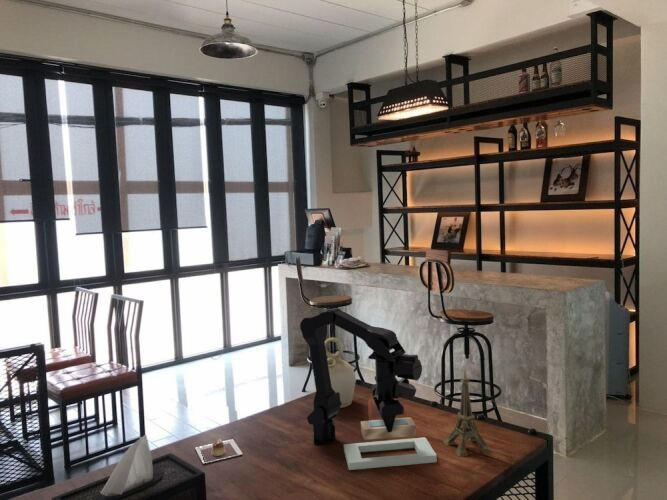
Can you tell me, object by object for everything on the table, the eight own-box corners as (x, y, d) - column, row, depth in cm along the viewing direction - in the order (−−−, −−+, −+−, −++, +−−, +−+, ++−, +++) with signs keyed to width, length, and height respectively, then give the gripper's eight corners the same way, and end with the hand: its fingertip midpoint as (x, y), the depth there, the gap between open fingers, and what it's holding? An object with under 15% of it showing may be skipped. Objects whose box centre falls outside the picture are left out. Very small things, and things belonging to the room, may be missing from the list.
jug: (342, 413, 191) (339, 344, 189) (307, 406, 200) (303, 340, 198) (364, 399, 204) (361, 334, 202) (329, 393, 212) (326, 330, 210)
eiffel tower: (442, 442, 165) (440, 362, 163) (473, 436, 168) (471, 358, 166) (459, 457, 155) (456, 372, 153) (492, 451, 157) (490, 367, 155)
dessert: (203, 467, 157) (202, 451, 156) (194, 450, 168) (194, 436, 167) (243, 457, 162) (242, 442, 162) (232, 442, 173) (232, 427, 172)
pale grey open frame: (348, 470, 150) (348, 463, 150) (344, 450, 162) (343, 444, 162) (436, 462, 152) (436, 455, 152) (425, 443, 164) (425, 437, 164)
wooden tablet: (399, 427, 178) (399, 422, 178) (369, 428, 179) (369, 423, 179) (393, 398, 205) (393, 394, 205) (367, 399, 205) (367, 395, 205)
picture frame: (364, 439, 153) (363, 428, 153) (361, 431, 159) (360, 420, 158) (416, 435, 154) (415, 424, 154) (411, 427, 160) (410, 416, 160)
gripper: (421, 383, 147) (423, 438, 148) (405, 363, 165) (407, 413, 166) (381, 386, 146) (383, 442, 147) (369, 366, 164) (371, 415, 165)
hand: (387, 427), depth 156 cm, fingers closed on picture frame, 6 cm apart
